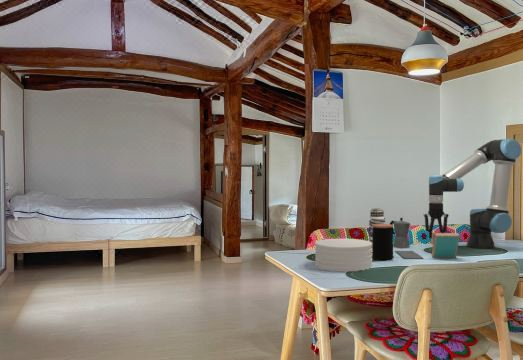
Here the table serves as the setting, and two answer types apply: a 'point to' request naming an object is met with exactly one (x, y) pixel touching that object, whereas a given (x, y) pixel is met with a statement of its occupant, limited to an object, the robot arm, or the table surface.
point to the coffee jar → (382, 241)
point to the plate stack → (343, 254)
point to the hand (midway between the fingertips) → (436, 244)
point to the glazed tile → (445, 245)
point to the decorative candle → (375, 220)
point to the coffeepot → (401, 233)
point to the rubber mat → (409, 255)
